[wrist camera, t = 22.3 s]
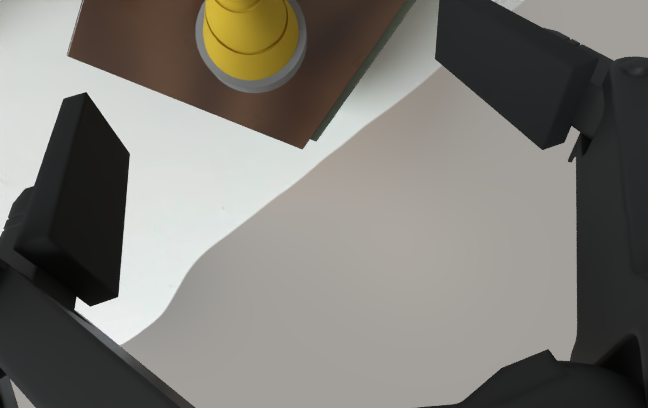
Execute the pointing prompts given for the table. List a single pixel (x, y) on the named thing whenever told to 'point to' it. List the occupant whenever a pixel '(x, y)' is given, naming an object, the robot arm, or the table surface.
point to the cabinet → (200, 82)
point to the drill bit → (252, 42)
